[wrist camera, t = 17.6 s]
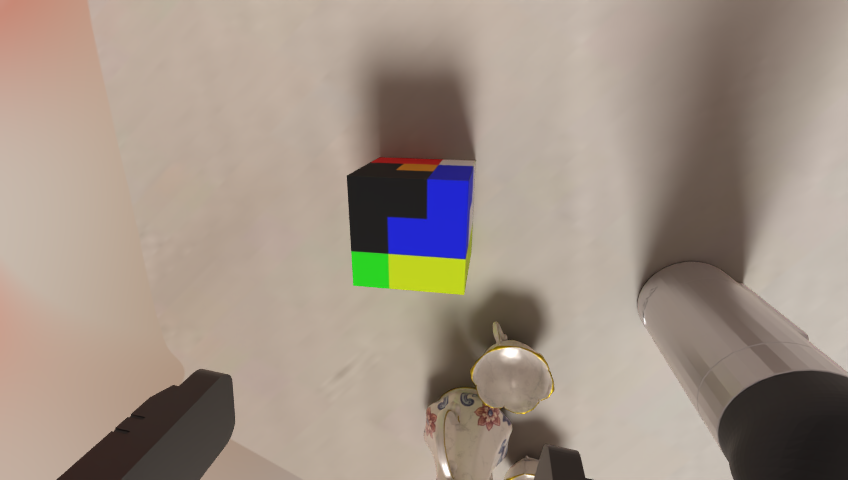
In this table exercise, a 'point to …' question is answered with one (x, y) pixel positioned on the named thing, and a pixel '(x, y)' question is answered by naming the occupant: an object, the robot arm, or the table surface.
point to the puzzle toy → (412, 223)
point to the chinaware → (487, 413)
